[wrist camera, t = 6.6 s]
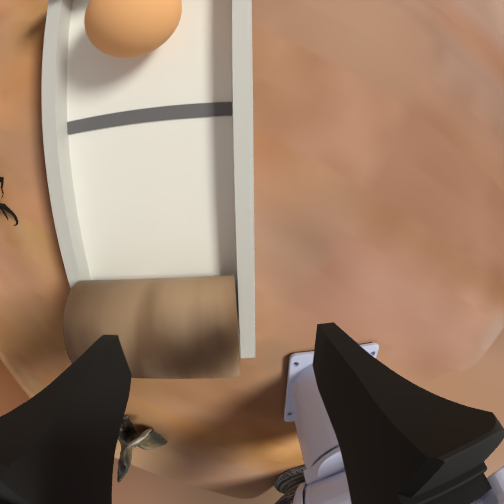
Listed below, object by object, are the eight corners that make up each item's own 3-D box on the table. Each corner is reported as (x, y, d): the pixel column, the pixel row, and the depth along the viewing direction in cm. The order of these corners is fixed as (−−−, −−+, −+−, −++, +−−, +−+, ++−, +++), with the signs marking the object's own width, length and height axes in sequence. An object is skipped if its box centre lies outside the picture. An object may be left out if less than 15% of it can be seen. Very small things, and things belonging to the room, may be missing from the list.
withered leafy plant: (73, 407, 24) (108, 462, 26) (84, 450, 19) (127, 504, 21) (137, 383, 28) (163, 440, 31) (161, 419, 23) (190, 476, 25)
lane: (252, 335, 23) (257, 372, 19) (103, 337, 22) (88, 371, 19) (247, -31, 13) (253, -62, 9) (67, -3, 12) (40, -22, 8)
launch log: (236, 334, 22) (241, 397, 16) (110, 336, 21) (86, 393, 16) (232, 258, 19) (237, 313, 14) (90, 264, 19) (51, 314, 13)
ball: (185, 62, 14) (172, 29, 9) (100, 75, 14) (62, 51, 9) (188, -8, 13) (179, -54, 8) (107, 5, 12) (77, -31, 8)
